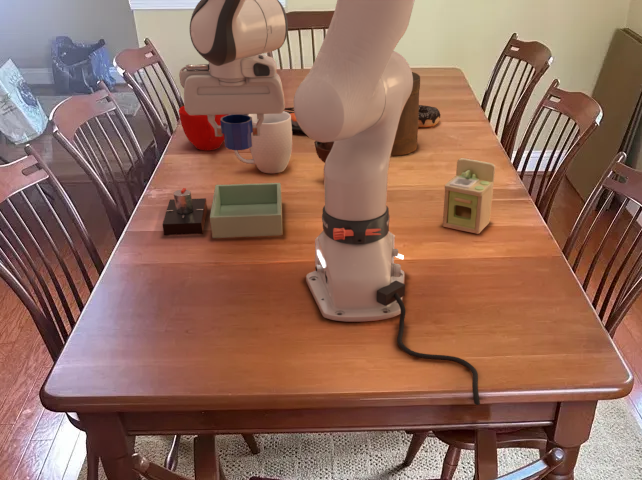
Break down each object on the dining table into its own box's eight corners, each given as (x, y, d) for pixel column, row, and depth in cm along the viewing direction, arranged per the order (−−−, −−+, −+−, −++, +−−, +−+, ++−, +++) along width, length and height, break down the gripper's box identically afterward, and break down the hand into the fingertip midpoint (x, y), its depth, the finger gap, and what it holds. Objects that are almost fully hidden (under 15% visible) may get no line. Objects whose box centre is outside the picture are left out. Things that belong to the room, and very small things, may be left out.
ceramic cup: (192, 162, 183) (187, 122, 177) (179, 142, 195) (174, 104, 189) (241, 155, 187) (237, 116, 181) (225, 136, 199) (221, 99, 193)
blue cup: (253, 150, 145) (251, 123, 142) (222, 151, 145) (219, 124, 141) (254, 140, 150) (252, 113, 147) (224, 140, 150) (221, 114, 146)
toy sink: (440, 227, 152) (445, 167, 144) (453, 215, 157) (459, 156, 149) (477, 236, 148) (484, 175, 140) (489, 223, 153) (497, 163, 145)
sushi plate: (230, 128, 205) (229, 114, 202) (271, 100, 227) (270, 87, 225) (324, 138, 197) (323, 124, 195) (356, 108, 220) (356, 95, 217)
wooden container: (406, 136, 199) (410, 51, 185) (424, 153, 188) (430, 65, 174) (356, 140, 196) (356, 55, 182) (371, 158, 185) (372, 69, 171)
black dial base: (203, 236, 149) (201, 222, 147) (164, 237, 148) (162, 223, 146) (207, 210, 159) (205, 197, 157) (171, 212, 158) (169, 198, 156)
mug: (239, 181, 173) (234, 126, 165) (232, 165, 181) (226, 113, 173) (298, 174, 176) (296, 120, 168) (288, 159, 184) (285, 107, 176)
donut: (438, 116, 213) (439, 103, 210) (441, 129, 204) (442, 115, 201) (401, 116, 213) (402, 103, 211) (403, 129, 204) (404, 115, 201)
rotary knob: (190, 214, 150) (187, 195, 147) (174, 213, 150) (170, 194, 148) (195, 207, 153) (192, 188, 150) (179, 206, 153) (176, 187, 150)
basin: (282, 237, 148) (281, 214, 145) (212, 240, 147) (209, 217, 144) (281, 204, 162) (280, 182, 159) (218, 206, 161) (215, 184, 158)
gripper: (176, 68, 134) (186, 141, 143) (283, 67, 136) (286, 139, 145) (179, 60, 139) (188, 131, 148) (282, 59, 141) (286, 129, 149)
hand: (238, 135), depth 146 cm, fingers closed on blue cup, 6 cm apart
